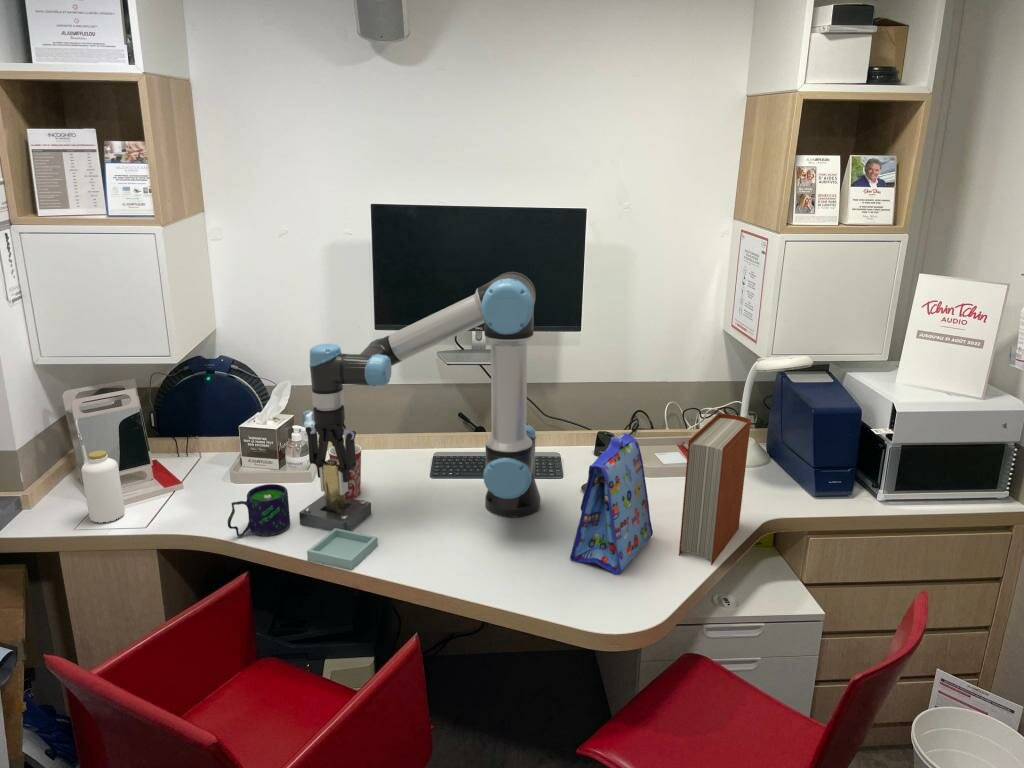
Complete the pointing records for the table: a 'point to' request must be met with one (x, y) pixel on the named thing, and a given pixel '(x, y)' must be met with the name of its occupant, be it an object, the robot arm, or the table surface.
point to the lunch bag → (614, 508)
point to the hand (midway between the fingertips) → (334, 490)
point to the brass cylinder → (332, 485)
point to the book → (714, 485)
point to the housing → (335, 515)
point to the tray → (342, 548)
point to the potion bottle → (102, 488)
